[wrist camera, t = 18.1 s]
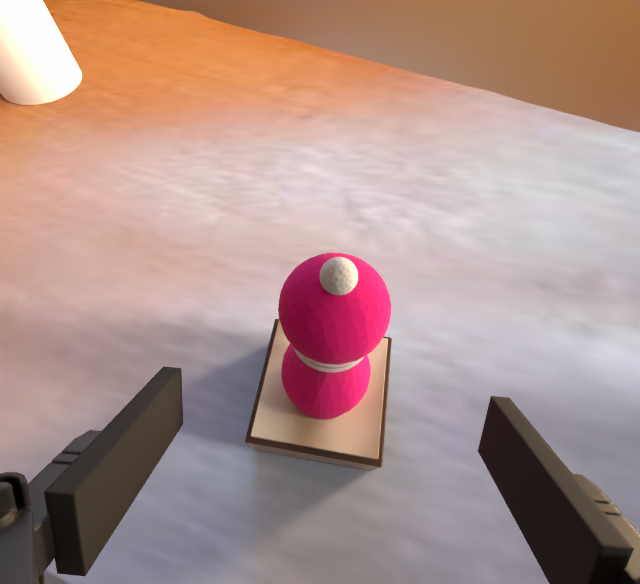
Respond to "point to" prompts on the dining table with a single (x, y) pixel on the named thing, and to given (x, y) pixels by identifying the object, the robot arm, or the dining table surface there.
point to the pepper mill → (331, 332)
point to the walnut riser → (315, 434)
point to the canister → (33, 55)
